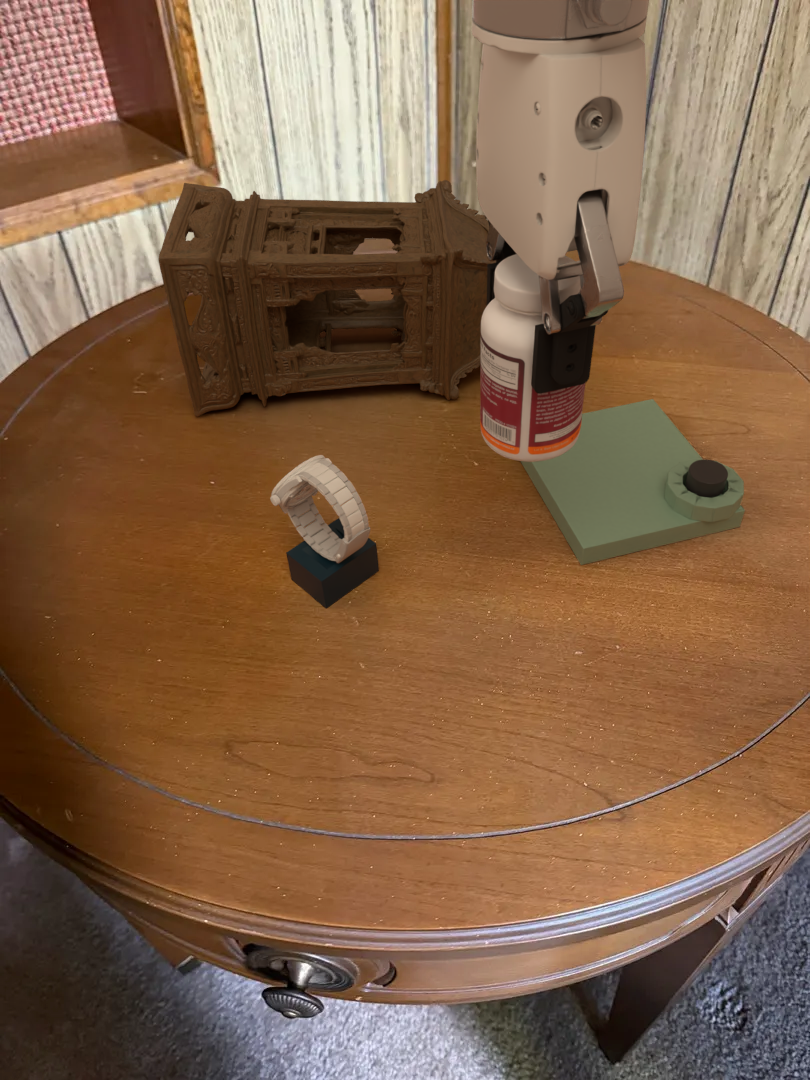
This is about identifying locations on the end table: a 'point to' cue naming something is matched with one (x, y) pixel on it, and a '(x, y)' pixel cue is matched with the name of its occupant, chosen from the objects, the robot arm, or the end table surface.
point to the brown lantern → (322, 292)
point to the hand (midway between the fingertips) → (535, 350)
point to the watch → (326, 531)
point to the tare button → (706, 478)
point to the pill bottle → (522, 371)
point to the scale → (630, 486)
